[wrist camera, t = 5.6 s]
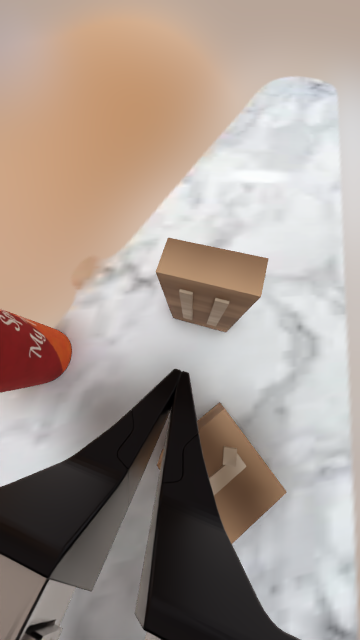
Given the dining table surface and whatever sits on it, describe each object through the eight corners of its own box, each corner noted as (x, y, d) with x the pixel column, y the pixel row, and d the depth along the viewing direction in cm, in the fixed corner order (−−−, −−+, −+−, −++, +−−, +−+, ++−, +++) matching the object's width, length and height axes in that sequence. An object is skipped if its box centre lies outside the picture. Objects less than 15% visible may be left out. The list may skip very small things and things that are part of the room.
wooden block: (225, 333, 19) (260, 300, 9) (172, 319, 20) (154, 274, 10) (230, 311, 20) (268, 258, 10) (179, 298, 20) (168, 237, 11)
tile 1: (209, 524, 15) (213, 564, 12) (162, 448, 17) (156, 466, 14) (269, 469, 16) (288, 493, 13) (219, 401, 18) (225, 409, 15)
